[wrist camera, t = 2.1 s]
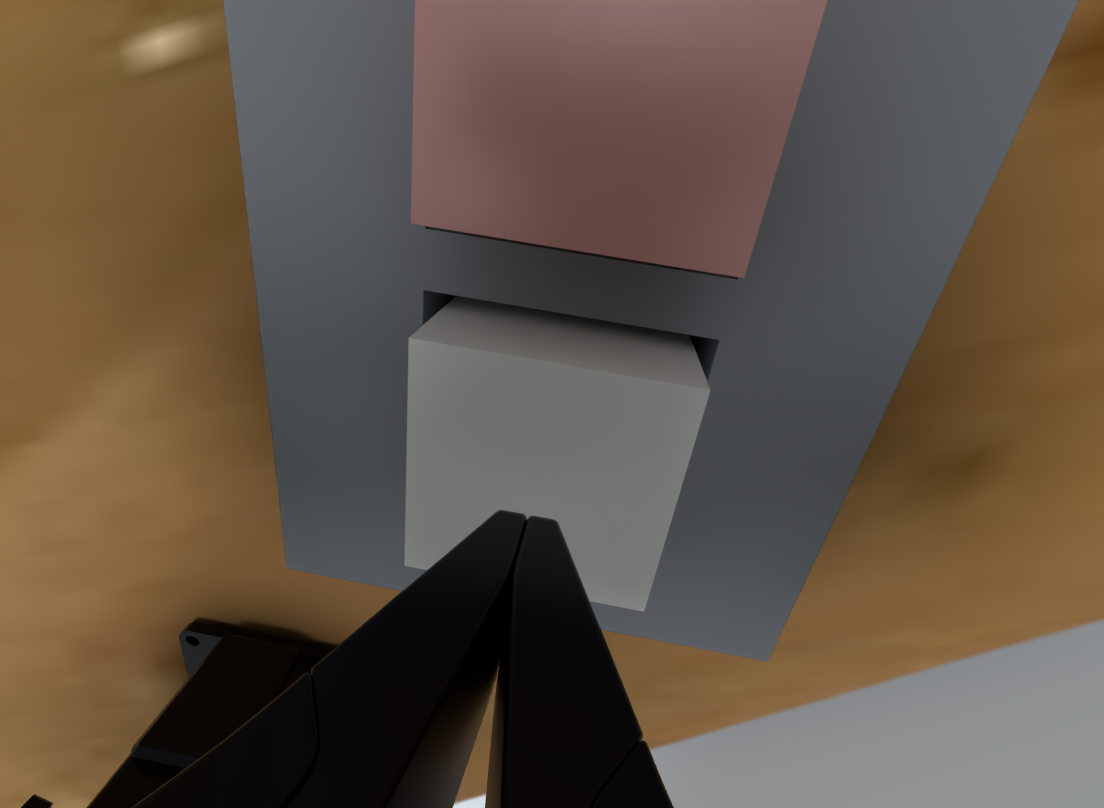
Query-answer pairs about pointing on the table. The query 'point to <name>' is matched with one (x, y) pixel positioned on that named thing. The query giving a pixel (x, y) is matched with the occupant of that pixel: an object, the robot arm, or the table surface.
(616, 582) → the white key
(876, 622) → the table surface
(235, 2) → the key panel
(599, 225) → the red key
